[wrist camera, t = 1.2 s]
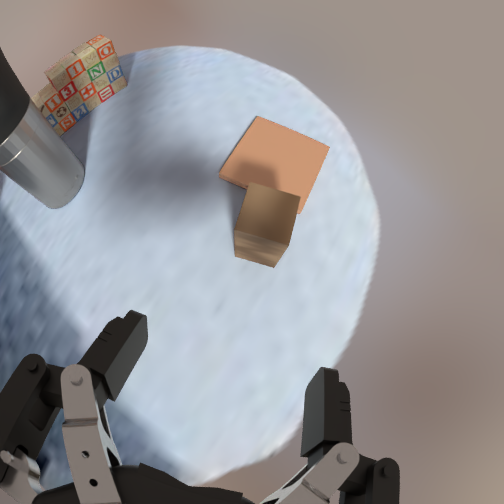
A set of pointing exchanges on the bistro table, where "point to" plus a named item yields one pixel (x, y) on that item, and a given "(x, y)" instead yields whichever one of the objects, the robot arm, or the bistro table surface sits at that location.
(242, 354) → the bistro table surface
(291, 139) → the terracotta tile
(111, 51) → the stack of blocks
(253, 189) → the walnut block
